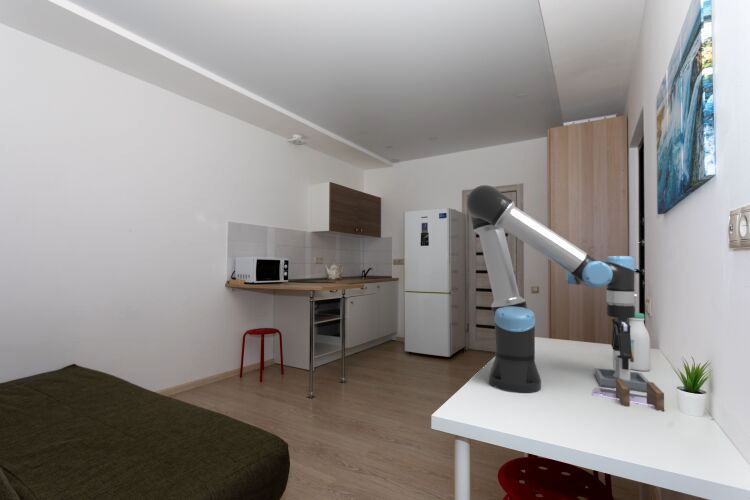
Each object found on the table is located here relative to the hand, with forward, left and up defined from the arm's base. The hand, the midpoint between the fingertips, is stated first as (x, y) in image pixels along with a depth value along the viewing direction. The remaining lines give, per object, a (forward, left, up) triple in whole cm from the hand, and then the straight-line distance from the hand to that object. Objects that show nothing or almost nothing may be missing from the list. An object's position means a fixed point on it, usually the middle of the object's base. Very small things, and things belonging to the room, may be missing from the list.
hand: (621, 375), depth 119 cm
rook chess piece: (0, 0, -2) cm, 2 cm away
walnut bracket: (+1, -17, -3) cm, 17 cm away
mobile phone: (-2, -14, -3) cm, 15 cm away
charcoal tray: (0, 0, -3) cm, 3 cm away
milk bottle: (+9, +23, -3) cm, 25 cm away
